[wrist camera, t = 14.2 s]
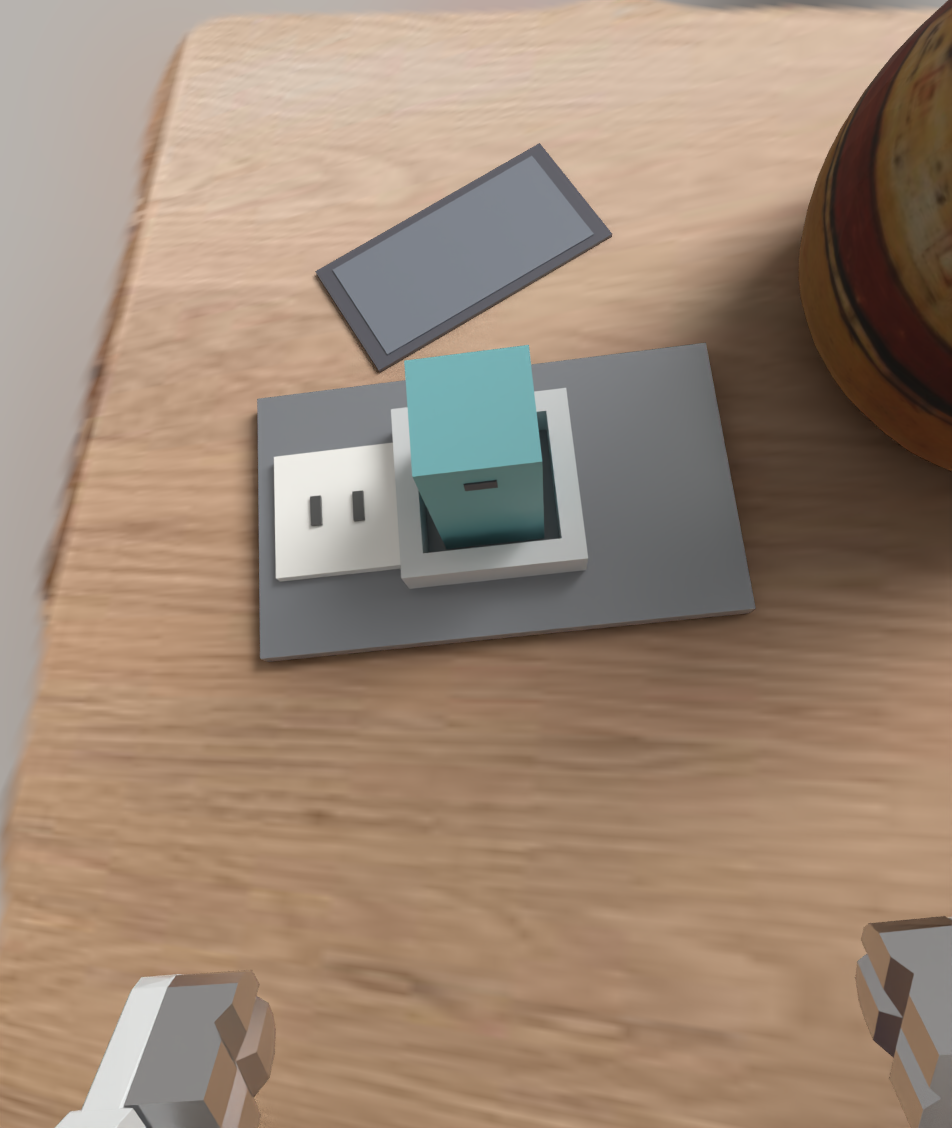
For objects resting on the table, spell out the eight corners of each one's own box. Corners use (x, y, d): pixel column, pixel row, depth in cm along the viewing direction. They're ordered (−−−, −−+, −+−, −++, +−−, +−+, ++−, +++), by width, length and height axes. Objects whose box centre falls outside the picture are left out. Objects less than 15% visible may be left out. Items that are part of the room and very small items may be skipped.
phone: (319, 280, 41) (315, 270, 41) (539, 154, 42) (539, 142, 41) (382, 378, 40) (378, 369, 39) (611, 244, 40) (612, 233, 40)
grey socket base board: (701, 353, 38) (714, 318, 35) (749, 613, 34) (768, 598, 31) (264, 408, 39) (241, 379, 36) (268, 661, 36) (242, 652, 33)
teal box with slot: (534, 447, 36) (528, 344, 27) (544, 539, 35) (542, 463, 26) (439, 458, 36) (404, 360, 28) (446, 550, 35) (412, 478, 26)
